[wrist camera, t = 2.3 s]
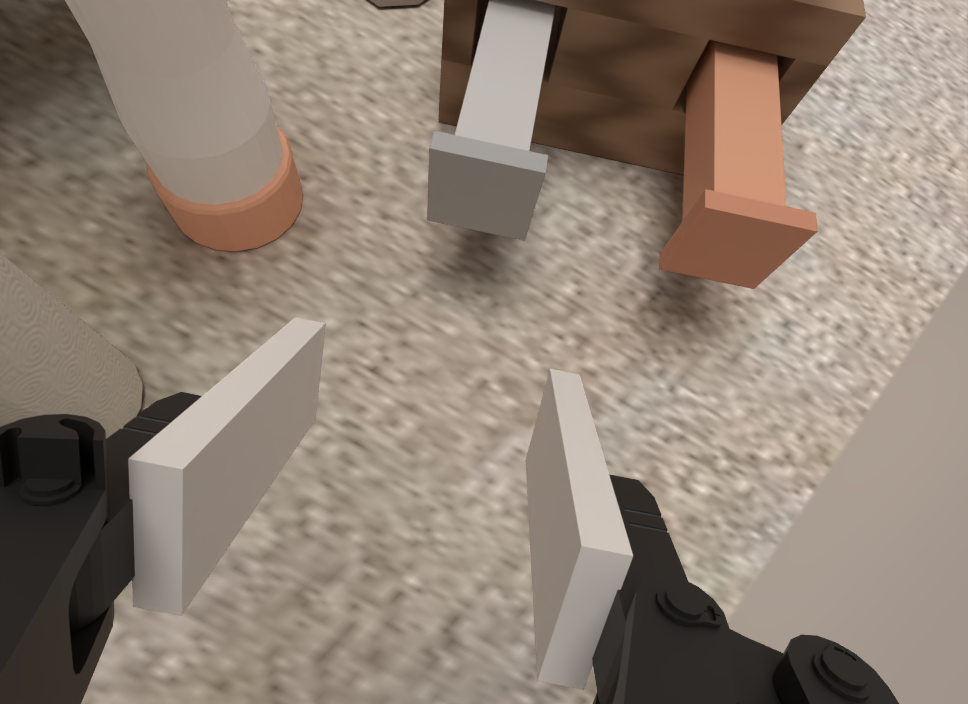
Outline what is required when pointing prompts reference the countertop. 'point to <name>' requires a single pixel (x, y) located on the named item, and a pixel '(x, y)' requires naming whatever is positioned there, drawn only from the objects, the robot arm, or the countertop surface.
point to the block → (646, 65)
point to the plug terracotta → (734, 173)
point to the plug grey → (495, 128)
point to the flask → (395, 2)
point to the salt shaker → (196, 116)
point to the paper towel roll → (58, 360)
